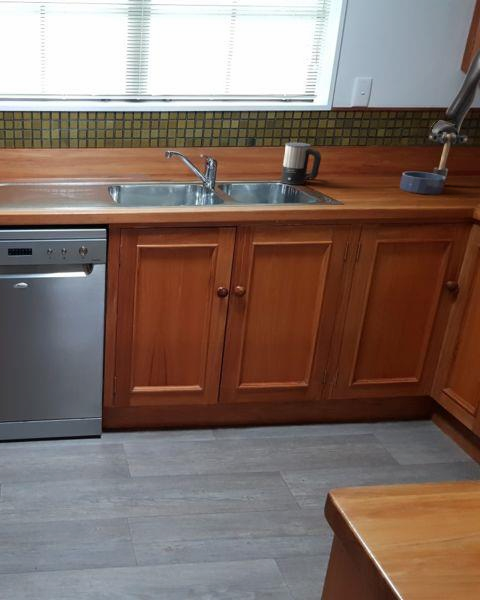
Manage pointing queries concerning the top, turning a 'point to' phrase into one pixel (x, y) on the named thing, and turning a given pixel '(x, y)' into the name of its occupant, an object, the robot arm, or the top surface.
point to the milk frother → (299, 163)
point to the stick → (445, 152)
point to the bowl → (422, 182)
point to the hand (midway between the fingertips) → (449, 140)
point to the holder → (440, 172)
